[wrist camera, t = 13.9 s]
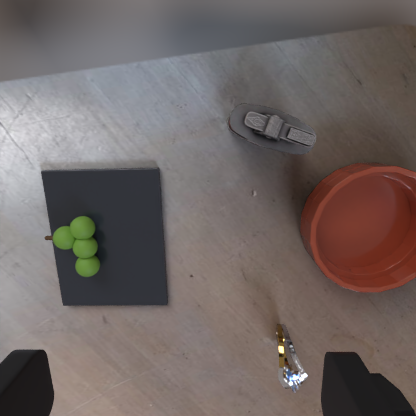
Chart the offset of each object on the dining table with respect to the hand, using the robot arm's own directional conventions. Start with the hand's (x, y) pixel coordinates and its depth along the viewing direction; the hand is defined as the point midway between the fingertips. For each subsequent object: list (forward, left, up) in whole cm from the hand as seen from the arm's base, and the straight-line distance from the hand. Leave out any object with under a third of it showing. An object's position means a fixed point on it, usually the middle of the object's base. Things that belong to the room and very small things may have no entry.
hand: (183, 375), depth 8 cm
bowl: (+4, +18, -28) cm, 34 cm away
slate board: (+6, -13, -28) cm, 31 cm away
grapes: (+6, -14, -26) cm, 30 cm away
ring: (+20, +9, -28) cm, 36 cm away
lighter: (-7, +6, -28) cm, 30 cm away
